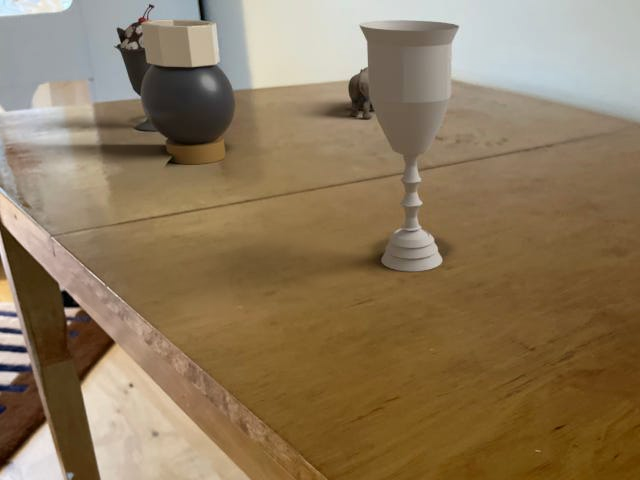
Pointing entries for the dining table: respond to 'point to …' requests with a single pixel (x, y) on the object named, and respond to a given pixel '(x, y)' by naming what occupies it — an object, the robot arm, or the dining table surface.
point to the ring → (180, 43)
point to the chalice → (410, 115)
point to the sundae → (135, 58)
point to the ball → (189, 110)
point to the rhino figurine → (360, 94)
